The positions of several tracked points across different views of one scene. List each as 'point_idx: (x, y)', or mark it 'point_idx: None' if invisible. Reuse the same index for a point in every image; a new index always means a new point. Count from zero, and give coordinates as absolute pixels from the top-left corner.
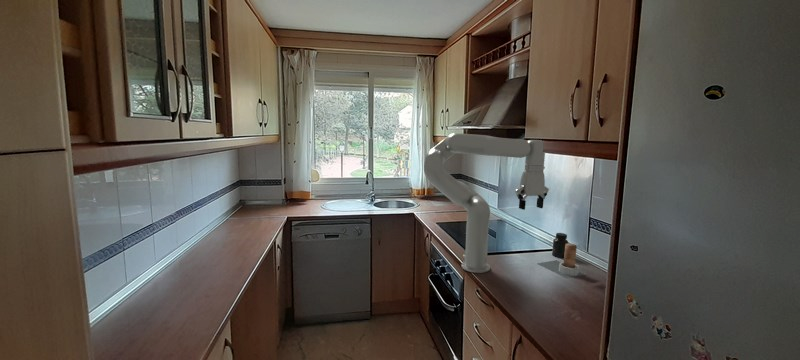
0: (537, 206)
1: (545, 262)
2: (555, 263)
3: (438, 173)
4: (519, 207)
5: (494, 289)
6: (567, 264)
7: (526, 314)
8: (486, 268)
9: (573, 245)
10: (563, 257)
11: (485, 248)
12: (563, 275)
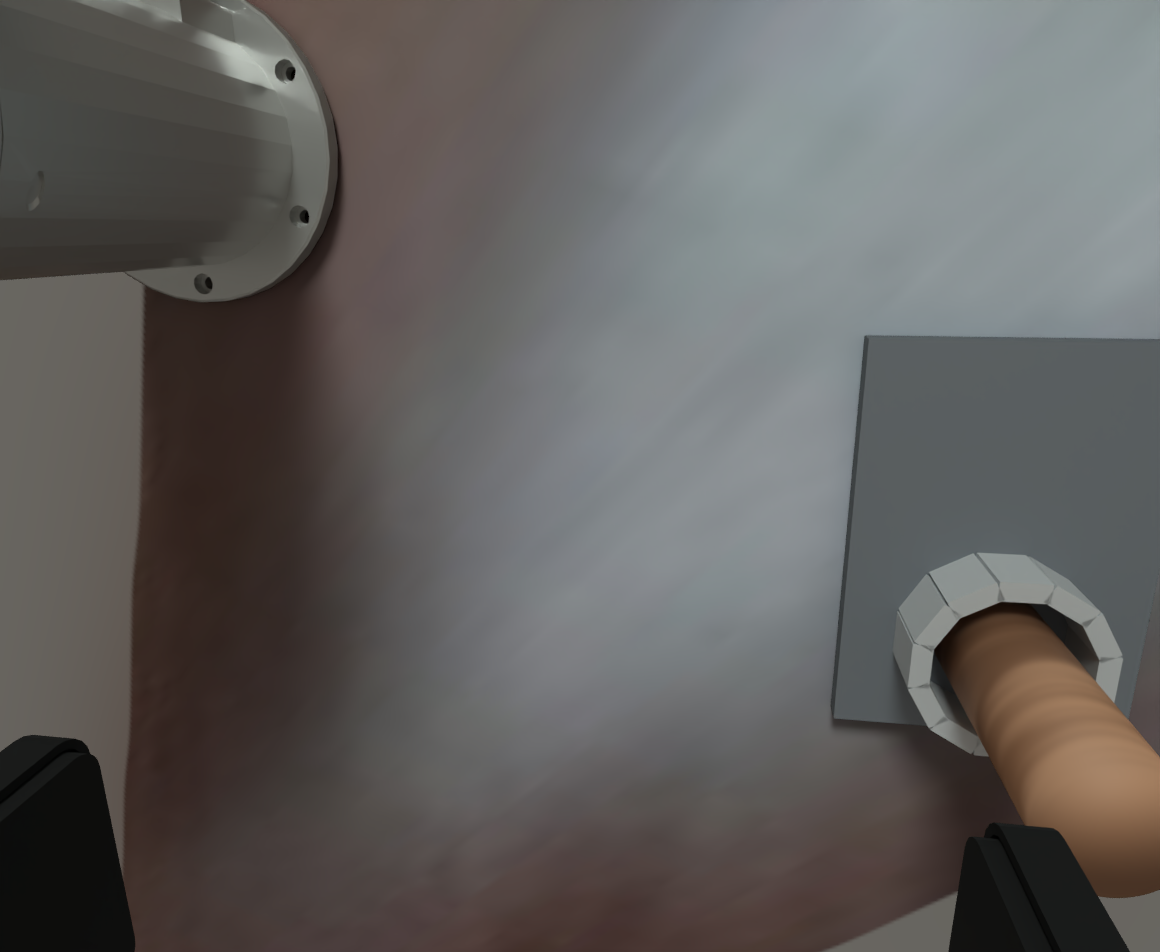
0: (968, 899)
1: (998, 353)
2: (1085, 419)
3: None
4: (20, 772)
5: (161, 590)
6: (961, 702)
7: (188, 893)
8: (251, 268)
9: (1143, 855)
10: None
11: (78, 269)
12: (858, 671)
